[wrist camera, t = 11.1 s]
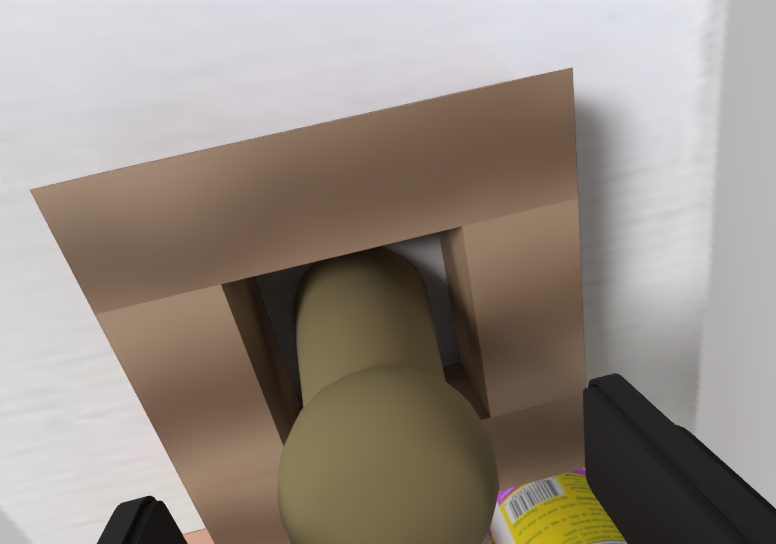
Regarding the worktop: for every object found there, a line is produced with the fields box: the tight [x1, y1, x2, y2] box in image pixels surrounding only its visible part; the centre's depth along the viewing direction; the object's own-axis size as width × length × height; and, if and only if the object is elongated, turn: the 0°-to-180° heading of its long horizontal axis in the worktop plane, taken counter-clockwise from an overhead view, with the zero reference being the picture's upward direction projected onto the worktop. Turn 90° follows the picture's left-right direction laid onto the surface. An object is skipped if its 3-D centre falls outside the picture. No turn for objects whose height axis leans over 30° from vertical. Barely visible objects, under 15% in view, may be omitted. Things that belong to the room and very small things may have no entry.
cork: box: [278, 246, 500, 544], centre depth 14 cm, size 6×6×11 cm
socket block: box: [30, 68, 586, 544], centre depth 17 cm, size 16×16×4 cm
